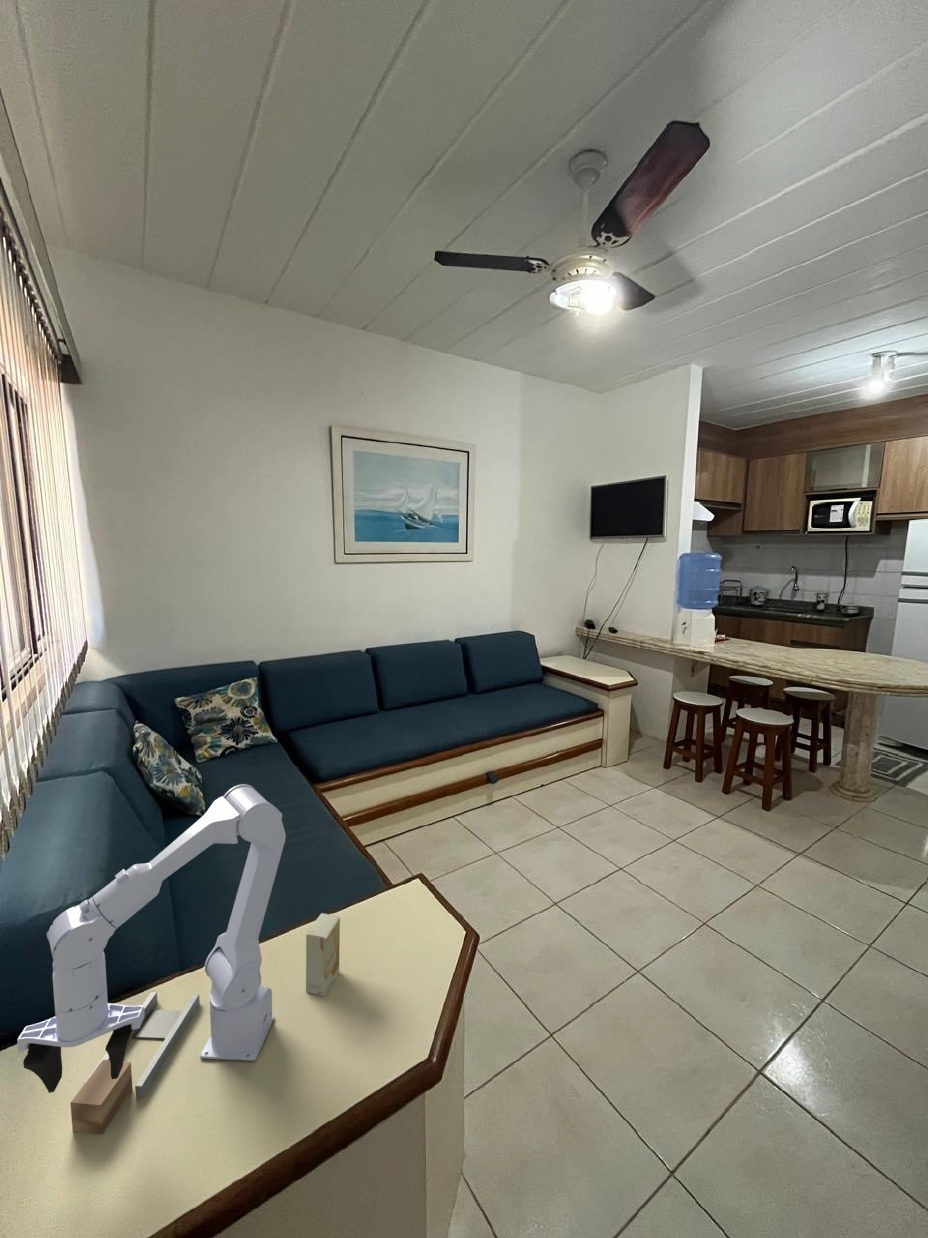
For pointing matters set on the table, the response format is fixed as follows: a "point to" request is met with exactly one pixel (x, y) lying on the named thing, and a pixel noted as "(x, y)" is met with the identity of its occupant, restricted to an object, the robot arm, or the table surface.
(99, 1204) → the table surface
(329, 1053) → the table surface
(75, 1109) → the walnut block
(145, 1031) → the channel
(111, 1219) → the table surface
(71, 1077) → the table surface
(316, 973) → the skincare box
